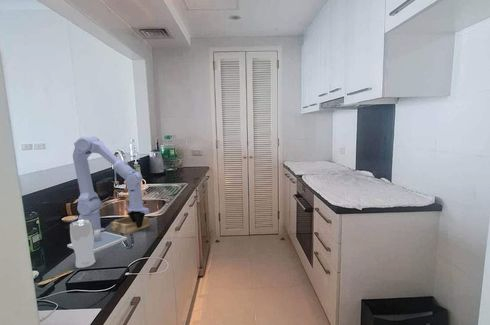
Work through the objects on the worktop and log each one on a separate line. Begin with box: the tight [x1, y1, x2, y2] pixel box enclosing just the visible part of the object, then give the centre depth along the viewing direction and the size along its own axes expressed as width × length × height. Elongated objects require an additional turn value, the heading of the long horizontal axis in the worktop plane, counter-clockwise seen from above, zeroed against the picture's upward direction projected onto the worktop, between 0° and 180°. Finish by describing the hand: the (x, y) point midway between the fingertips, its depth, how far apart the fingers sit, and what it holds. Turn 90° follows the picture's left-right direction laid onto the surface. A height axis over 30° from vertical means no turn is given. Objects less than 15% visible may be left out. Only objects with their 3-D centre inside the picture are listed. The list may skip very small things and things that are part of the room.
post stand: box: [66, 229, 128, 254], centre depth 112 cm, size 16×16×6 cm
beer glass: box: [69, 219, 96, 269], centre depth 93 cm, size 7×7×15 cm
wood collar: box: [110, 215, 151, 235], centre depth 129 cm, size 12×12×4 cm
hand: (138, 226), depth 127 cm, fingers closed
